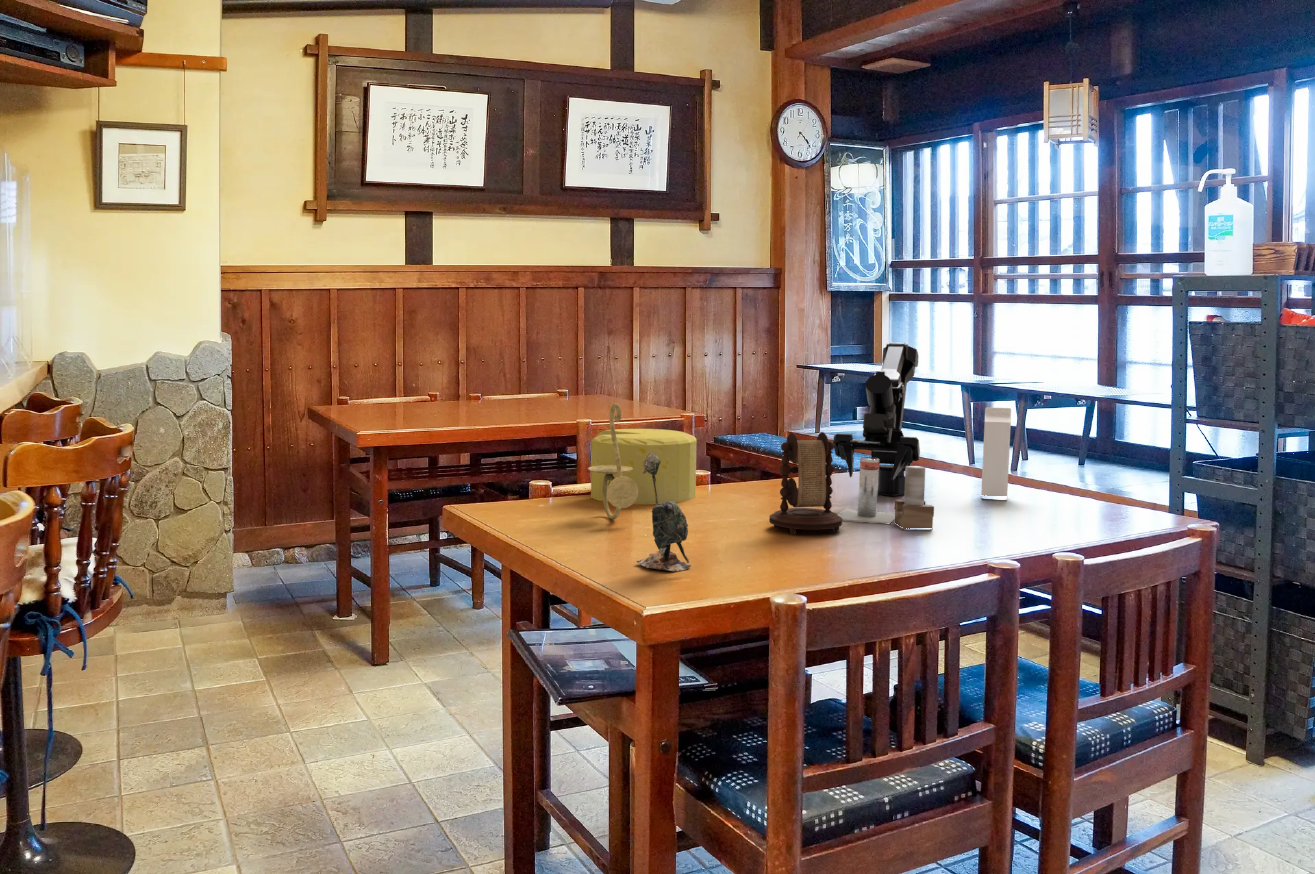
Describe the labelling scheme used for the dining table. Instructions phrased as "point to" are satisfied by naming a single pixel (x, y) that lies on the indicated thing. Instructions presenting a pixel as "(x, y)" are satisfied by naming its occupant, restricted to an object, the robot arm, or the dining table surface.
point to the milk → (996, 451)
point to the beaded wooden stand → (806, 486)
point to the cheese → (634, 448)
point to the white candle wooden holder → (914, 501)
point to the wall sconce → (622, 487)
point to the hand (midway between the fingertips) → (871, 477)
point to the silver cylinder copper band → (868, 487)
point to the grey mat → (853, 517)
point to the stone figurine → (665, 528)
